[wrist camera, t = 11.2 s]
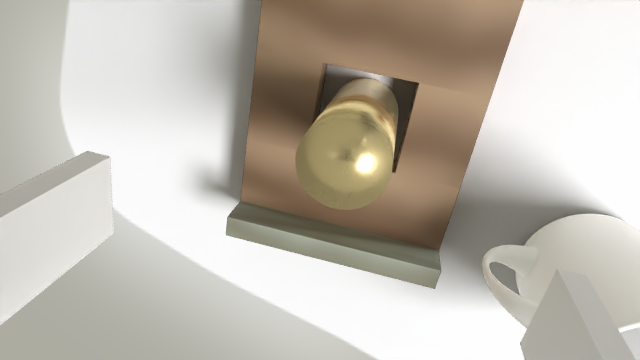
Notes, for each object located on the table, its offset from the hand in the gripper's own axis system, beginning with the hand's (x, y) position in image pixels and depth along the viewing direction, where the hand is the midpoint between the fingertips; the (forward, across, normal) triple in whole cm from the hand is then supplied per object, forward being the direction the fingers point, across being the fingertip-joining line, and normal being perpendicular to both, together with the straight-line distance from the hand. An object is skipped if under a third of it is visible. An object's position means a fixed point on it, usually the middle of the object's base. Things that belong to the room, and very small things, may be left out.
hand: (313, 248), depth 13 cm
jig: (+17, 0, -1) cm, 17 cm away
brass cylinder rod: (+17, 0, -1) cm, 17 cm away
